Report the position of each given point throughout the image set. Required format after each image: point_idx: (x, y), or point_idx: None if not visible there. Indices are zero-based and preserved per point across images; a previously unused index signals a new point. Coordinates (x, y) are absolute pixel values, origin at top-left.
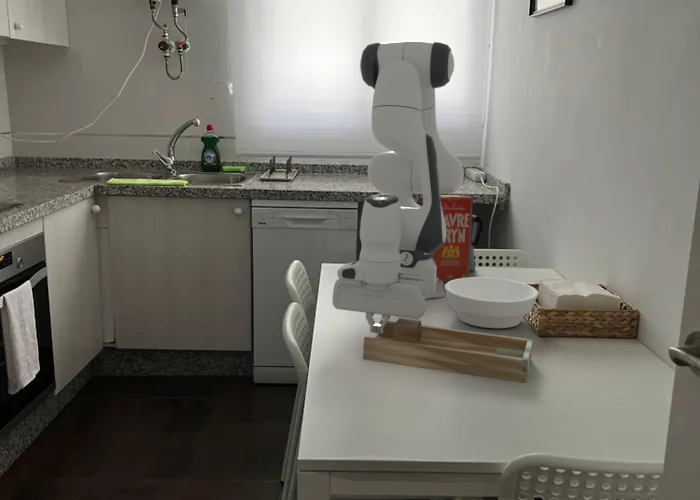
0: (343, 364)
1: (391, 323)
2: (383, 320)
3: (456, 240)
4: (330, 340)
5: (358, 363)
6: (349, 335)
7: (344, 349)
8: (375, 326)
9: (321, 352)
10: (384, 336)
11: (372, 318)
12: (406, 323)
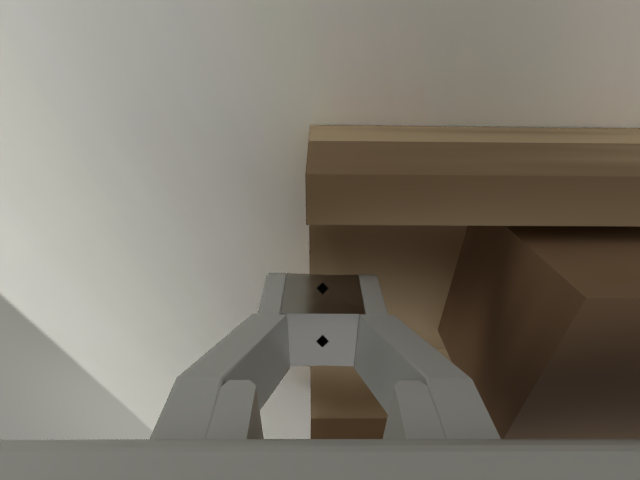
0: (264, 435)
1: (441, 221)
2: (336, 175)
3: None
4: (43, 260)
5: (309, 419)
6: (68, 128)
7: (191, 337)
8: (312, 361)
9: (127, 386)
10: (370, 257)
11: (253, 367)
12: (632, 406)
